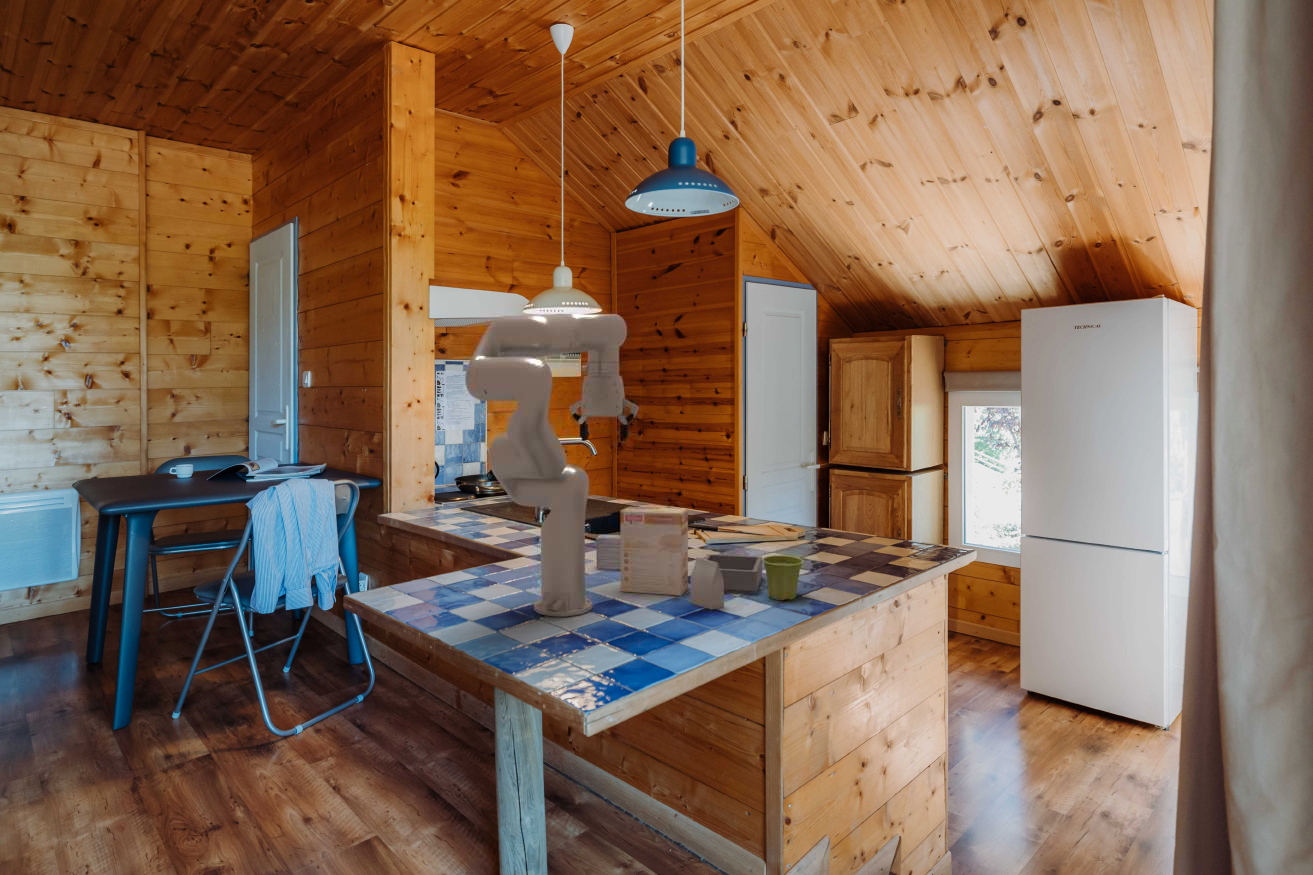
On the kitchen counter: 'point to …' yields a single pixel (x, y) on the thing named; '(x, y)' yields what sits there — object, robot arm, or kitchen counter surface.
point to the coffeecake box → (654, 550)
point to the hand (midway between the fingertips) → (603, 440)
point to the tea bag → (707, 584)
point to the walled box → (739, 572)
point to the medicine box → (608, 552)
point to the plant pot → (782, 576)
